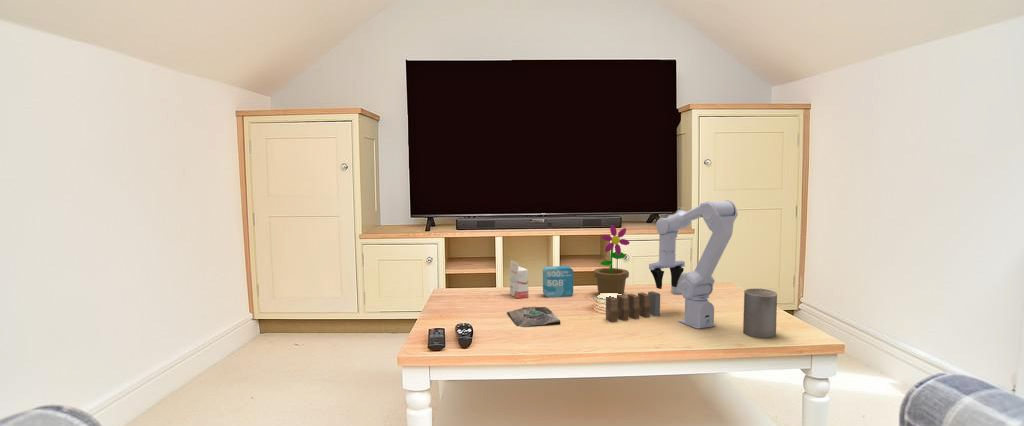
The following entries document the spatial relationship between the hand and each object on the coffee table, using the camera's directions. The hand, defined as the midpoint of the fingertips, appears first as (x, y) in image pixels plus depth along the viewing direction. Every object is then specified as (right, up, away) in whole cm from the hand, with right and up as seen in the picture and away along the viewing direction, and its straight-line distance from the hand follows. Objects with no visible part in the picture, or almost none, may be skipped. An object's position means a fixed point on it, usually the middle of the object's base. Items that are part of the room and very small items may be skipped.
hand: (666, 287), depth 200 cm
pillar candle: (+23, -12, -24) cm, 35 cm away
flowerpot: (-16, -7, +27) cm, 32 cm away
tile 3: (-13, -10, -5) cm, 17 cm away
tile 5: (-22, -11, -8) cm, 25 cm away
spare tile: (-5, -10, -1) cm, 11 cm away
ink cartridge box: (-54, -8, +27) cm, 61 cm away
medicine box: (+15, -7, +30) cm, 34 cm away
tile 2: (-9, -10, -3) cm, 14 cm away
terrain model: (-49, -11, -4) cm, 51 cm away
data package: (-37, -7, +28) cm, 47 cm away
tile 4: (-17, -10, -6) cm, 21 cm away
